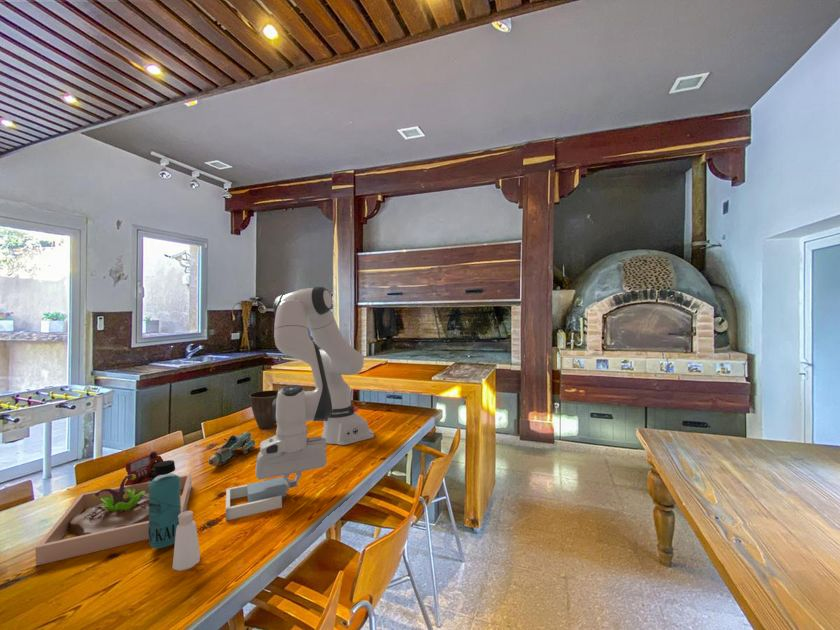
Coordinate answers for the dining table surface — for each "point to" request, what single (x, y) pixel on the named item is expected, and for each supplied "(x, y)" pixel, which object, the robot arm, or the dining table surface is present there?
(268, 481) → the short grey brick
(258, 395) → the plant pot
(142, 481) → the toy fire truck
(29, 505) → the dining table surface
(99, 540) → the planter tray
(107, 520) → the plant
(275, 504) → the bay
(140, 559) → the dining table surface
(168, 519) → the beverage bottle
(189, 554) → the pepper shaker
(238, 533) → the dining table surface
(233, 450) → the hoverbike
